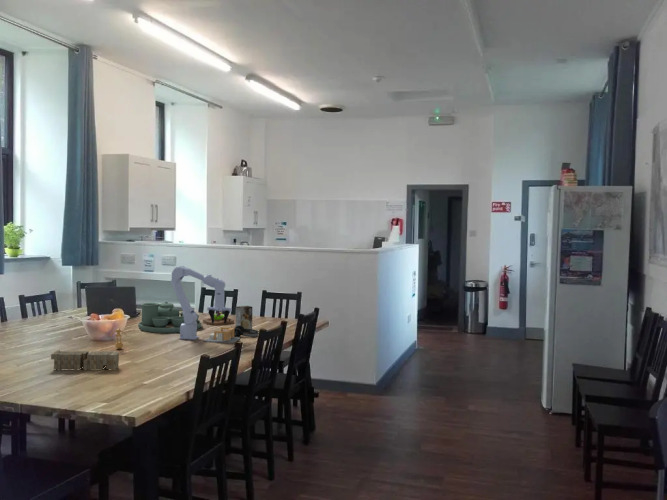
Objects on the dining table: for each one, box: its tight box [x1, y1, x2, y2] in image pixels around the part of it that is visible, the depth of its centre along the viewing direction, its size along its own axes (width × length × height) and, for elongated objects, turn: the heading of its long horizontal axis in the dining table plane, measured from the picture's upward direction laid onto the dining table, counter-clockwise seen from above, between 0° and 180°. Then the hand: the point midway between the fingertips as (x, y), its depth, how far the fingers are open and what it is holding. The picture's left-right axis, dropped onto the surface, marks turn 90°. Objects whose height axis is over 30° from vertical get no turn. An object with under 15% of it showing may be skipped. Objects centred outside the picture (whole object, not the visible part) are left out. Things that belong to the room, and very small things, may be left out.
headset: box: [229, 318, 260, 338], centre depth 363 cm, size 14×10×20 cm
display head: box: [203, 329, 241, 344], centre depth 347 cm, size 18×14×5 cm
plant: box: [202, 311, 235, 327], centre depth 406 cm, size 20×20×11 cm
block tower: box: [50, 349, 120, 370], centre depth 274 cm, size 8×8×29 cm
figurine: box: [110, 327, 127, 350], centre depth 315 cm, size 8×6×12 cm
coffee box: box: [235, 305, 253, 330], centre depth 378 cm, size 9×6×16 cm
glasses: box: [213, 326, 235, 340], centre depth 347 cm, size 8×13×5 cm, turn 173°
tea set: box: [137, 301, 202, 334], centre depth 383 cm, size 40×40×16 cm
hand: (219, 322), depth 349 cm, fingers open, 7 cm apart
